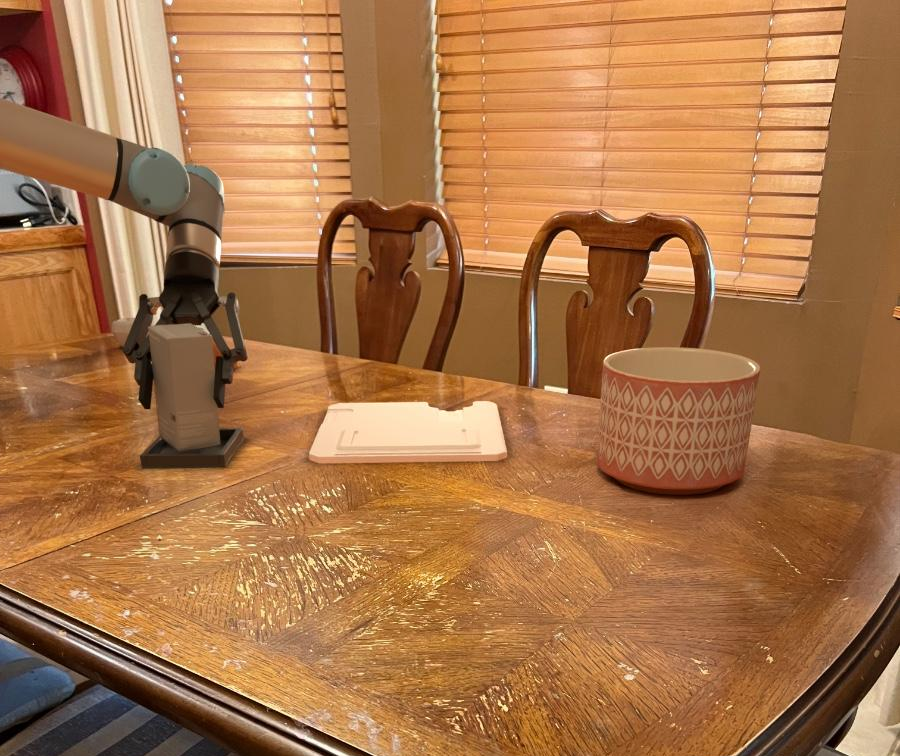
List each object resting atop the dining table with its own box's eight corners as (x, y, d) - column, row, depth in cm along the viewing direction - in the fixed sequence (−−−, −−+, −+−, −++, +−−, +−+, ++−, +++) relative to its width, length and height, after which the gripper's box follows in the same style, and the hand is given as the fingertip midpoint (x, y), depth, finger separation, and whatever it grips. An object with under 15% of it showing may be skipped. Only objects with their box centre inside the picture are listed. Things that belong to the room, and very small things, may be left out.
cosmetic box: (158, 438, 125) (140, 326, 117) (206, 429, 128) (190, 320, 121) (178, 453, 119) (160, 336, 111) (228, 444, 122) (213, 330, 115)
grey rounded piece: (137, 343, 196) (132, 313, 193) (159, 347, 192) (154, 316, 189) (107, 349, 191) (101, 318, 188) (129, 353, 187) (123, 322, 184)
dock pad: (142, 470, 119) (139, 455, 118) (167, 442, 130) (165, 428, 129) (225, 469, 119) (223, 454, 118) (244, 441, 130) (242, 427, 129)
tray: (330, 410, 145) (330, 401, 144) (496, 407, 145) (496, 398, 144) (308, 465, 120) (307, 454, 119) (508, 462, 120) (508, 451, 119)
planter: (660, 511, 103) (674, 389, 97) (567, 466, 118) (573, 357, 111) (774, 483, 112) (794, 368, 105) (673, 444, 126) (685, 341, 120)
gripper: (274, 281, 128) (267, 415, 121) (125, 284, 128) (111, 418, 121) (263, 247, 121) (256, 387, 114) (106, 250, 121) (89, 390, 114)
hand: (181, 403), depth 118 cm, fingers closed on cosmetic box, 9 cm apart
